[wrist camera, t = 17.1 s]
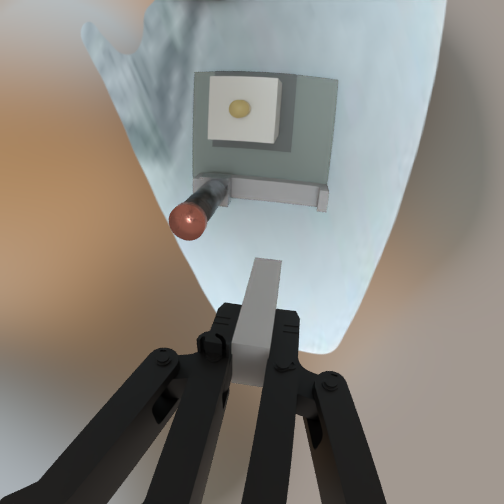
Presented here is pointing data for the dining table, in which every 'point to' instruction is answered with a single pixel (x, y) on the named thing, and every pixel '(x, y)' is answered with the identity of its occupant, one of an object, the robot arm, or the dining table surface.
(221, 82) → the housing
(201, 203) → the lever
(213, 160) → the base plate
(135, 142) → the dining table surface
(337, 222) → the dining table surface
